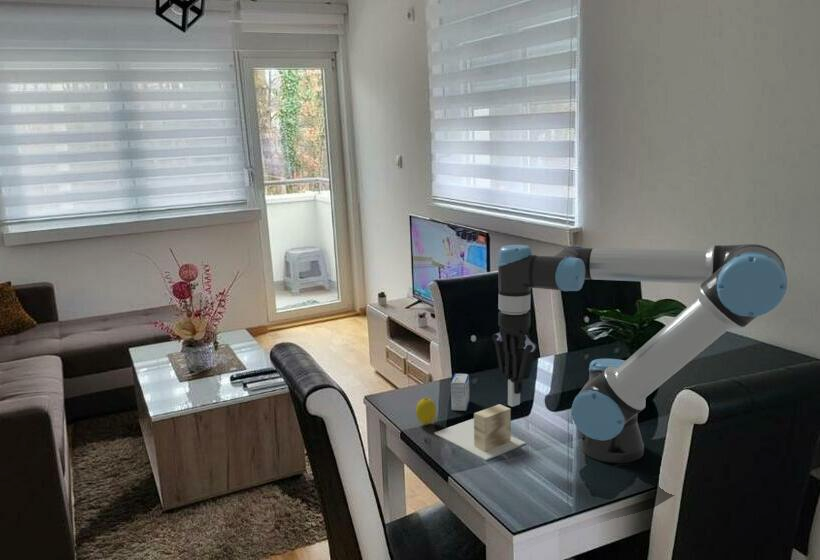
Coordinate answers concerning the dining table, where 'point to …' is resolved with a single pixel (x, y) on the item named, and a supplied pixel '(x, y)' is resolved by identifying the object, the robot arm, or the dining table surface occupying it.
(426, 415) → the lemon
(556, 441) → the dining table surface
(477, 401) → the dining table surface
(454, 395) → the medicine box
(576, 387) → the dining table surface
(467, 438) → the placemat
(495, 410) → the slab
